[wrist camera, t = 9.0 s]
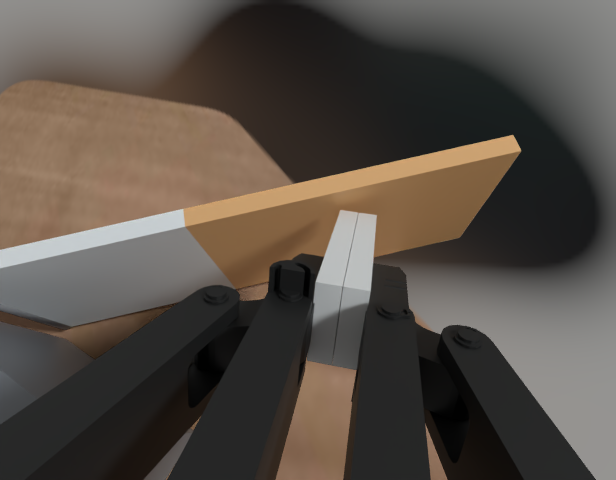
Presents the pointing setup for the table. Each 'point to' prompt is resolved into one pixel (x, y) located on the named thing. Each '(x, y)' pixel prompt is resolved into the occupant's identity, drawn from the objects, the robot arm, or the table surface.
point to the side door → (245, 236)
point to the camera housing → (49, 377)
